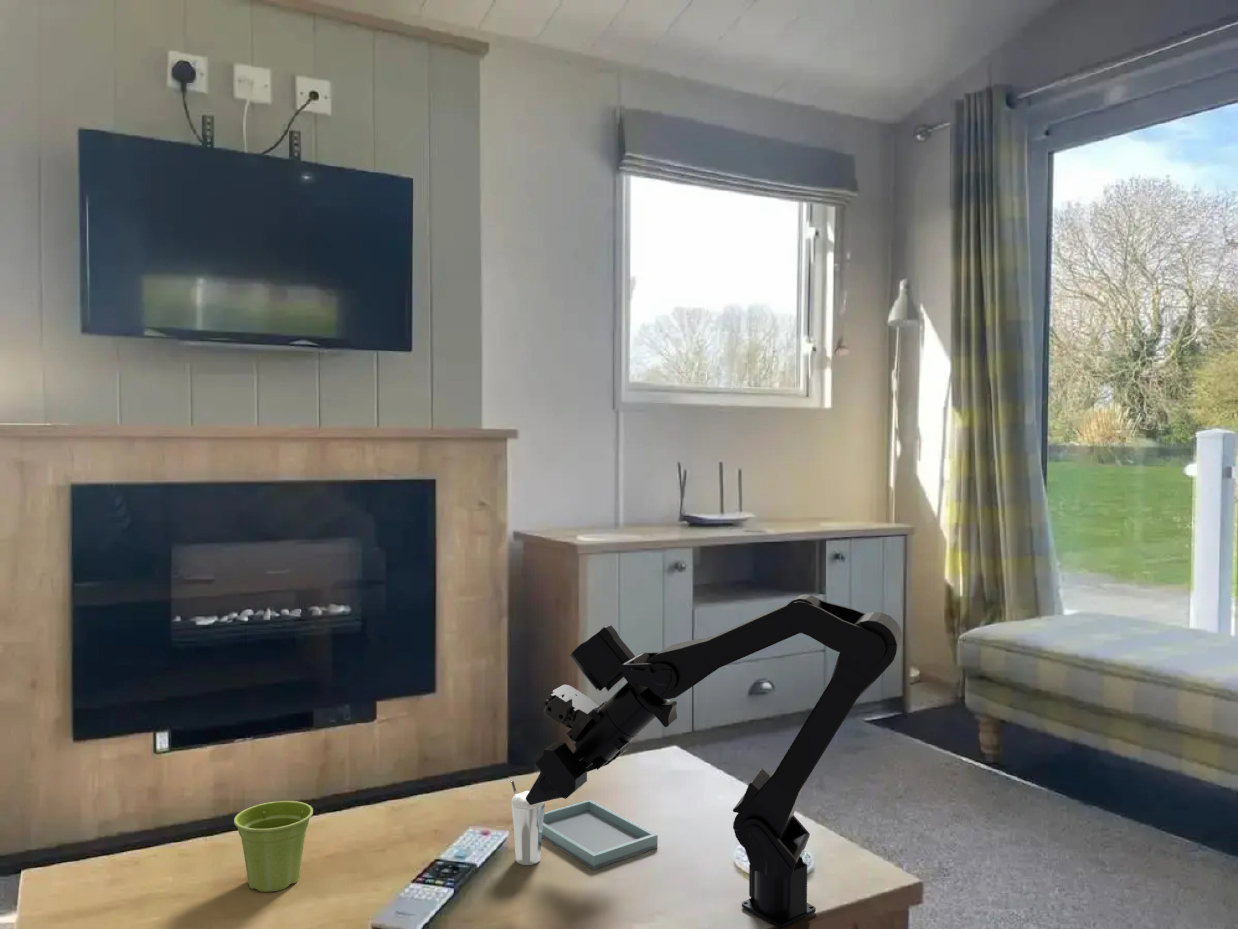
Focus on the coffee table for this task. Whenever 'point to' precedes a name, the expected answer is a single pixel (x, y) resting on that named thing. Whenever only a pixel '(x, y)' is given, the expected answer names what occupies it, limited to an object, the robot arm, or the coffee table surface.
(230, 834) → the coffee table surface
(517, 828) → the milkshake
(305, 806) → the plant pot
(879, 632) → the robot arm
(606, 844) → the tray
